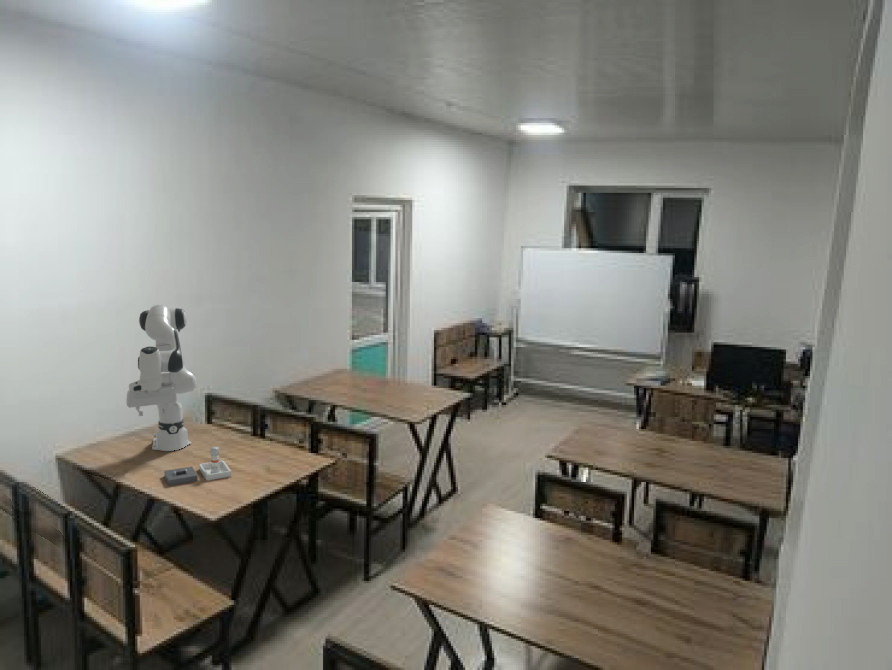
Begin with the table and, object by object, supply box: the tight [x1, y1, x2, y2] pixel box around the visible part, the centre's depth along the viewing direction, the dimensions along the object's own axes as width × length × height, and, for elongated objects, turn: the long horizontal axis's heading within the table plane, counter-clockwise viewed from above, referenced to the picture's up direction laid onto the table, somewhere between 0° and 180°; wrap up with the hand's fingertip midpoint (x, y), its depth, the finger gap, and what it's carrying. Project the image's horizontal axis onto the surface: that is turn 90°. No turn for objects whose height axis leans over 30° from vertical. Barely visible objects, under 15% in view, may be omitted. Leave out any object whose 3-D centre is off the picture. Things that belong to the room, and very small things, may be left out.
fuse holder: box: [163, 466, 199, 487], centre depth 295 cm, size 12×12×5 cm
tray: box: [198, 460, 232, 482], centre depth 303 cm, size 15×11×4 cm
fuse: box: [209, 446, 220, 474], centre depth 302 cm, size 4×4×12 cm
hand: (152, 414), depth 289 cm, fingers open, 8 cm apart
